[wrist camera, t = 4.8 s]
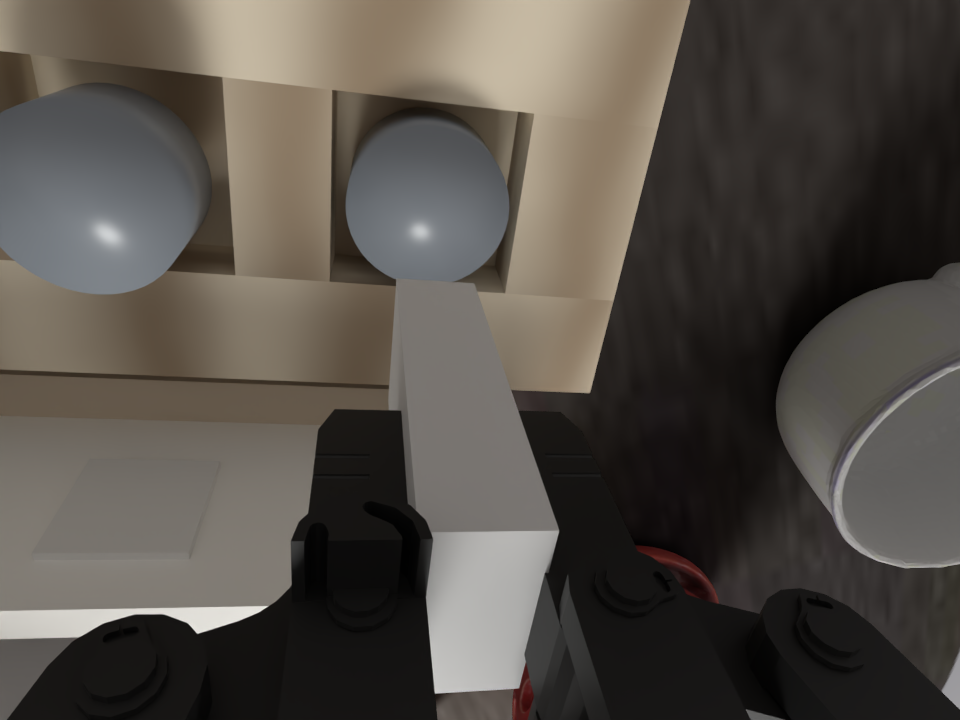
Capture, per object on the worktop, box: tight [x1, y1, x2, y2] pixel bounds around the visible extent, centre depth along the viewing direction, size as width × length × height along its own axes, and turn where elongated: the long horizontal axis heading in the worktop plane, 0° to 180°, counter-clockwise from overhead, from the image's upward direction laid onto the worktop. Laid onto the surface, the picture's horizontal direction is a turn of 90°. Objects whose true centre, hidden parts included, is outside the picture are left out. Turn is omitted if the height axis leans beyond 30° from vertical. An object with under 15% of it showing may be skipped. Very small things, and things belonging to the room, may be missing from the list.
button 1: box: [346, 107, 509, 282], centre depth 21 cm, size 5×5×3 cm
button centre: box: [0, 83, 212, 294], centre depth 18 cm, size 5×5×3 cm
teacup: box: [776, 263, 960, 568], centre depth 26 cm, size 14×11×8 cm
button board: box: [0, 0, 690, 393], centre depth 20 cm, size 32×14×3 cm, turn 82°
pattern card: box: [0, 369, 389, 639], centre depth 23 cm, size 26×5×10 cm, turn 82°
